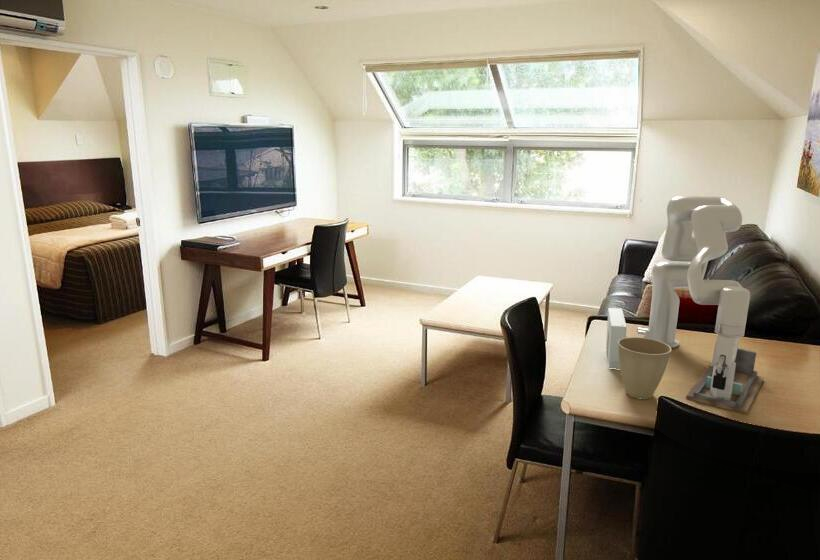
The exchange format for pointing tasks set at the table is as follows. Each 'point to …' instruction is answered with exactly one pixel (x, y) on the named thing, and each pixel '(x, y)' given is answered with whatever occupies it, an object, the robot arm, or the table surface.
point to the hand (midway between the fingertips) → (721, 383)
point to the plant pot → (642, 365)
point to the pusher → (735, 389)
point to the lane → (742, 376)
